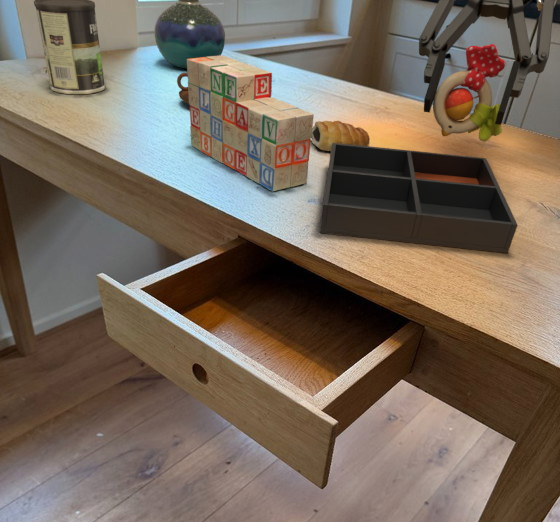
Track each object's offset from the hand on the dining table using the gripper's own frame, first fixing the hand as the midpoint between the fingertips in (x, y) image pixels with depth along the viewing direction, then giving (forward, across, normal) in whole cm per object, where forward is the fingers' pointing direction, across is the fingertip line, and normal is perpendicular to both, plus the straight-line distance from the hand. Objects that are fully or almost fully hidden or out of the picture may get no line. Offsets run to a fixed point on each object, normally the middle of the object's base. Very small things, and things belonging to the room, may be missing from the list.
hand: (462, 111), depth 69 cm
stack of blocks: (+9, +29, -8) cm, 31 cm away
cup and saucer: (-8, +47, -25) cm, 54 cm away
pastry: (-2, +19, -18) cm, 27 cm away
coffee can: (-5, +74, -22) cm, 77 cm away
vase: (-26, +65, -43) cm, 82 cm away
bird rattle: (0, -1, -5) cm, 5 cm away
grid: (+11, +4, -6) cm, 13 cm away
